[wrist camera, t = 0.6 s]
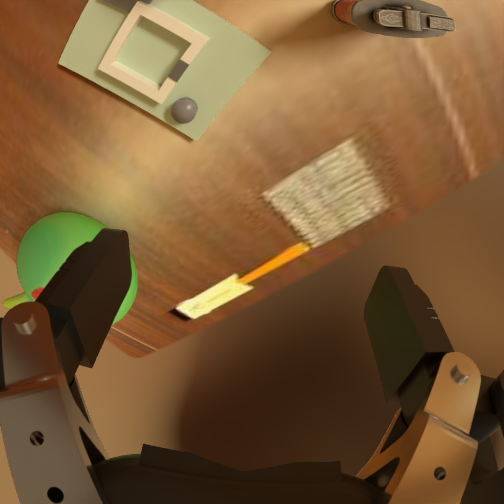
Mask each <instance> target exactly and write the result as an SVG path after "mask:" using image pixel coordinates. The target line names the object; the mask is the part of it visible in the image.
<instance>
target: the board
mask: <svg viewBox="0 0 504 504" xmlns="http://www.w3.org/2000/svg"><path fill="white" fill-rule="evenodd" d="M270 53H271V51H270V50H269V49H268V48H266V47H265V46H264V45H262V44H261V43H259V42H258V41H257V40H255V39H254V38H252V37H251V36H249V35H248V34H247V33H245V32H244V31H242V30H241V29H239V28H238V27H236V26H235V25H233V24H232V23H230V22H228V21H227V20H225V19H224V18H222V17H221V16H219V15H217V14H216V13H214V12H212V11H211V10H209V9H207V8H206V7H204V6H202V5H201V4H199V3H197V2H195V1H194V0H89V2H88V3H87V5H86V7H85V9H84V11H83V12H82V14H81V16H80V18H79V20H78V22H77V24H76V26H75V28H74V30H73V32H72V34H71V36H70V38H69V40H68V42H67V44H66V47H65V49H64V51H63V53H62V56H61V58H60V60H59V63H58V64H60V65H62V66H64V67H66V68H68V69H70V70H72V71H74V72H76V73H78V74H80V75H82V76H84V77H86V78H87V79H89V80H91V81H93V82H95V83H97V84H99V85H101V86H102V87H104V88H106V89H108V90H110V91H112V92H113V93H115V94H117V95H119V96H121V97H122V98H124V99H126V100H128V101H129V102H131V103H133V104H135V105H136V106H138V107H140V108H142V109H143V110H145V111H147V112H149V113H150V114H152V115H154V116H155V117H157V118H159V119H161V120H162V121H164V122H166V123H167V124H169V125H171V126H172V127H174V128H176V129H177V130H179V131H181V132H182V133H184V134H185V135H187V136H189V137H190V138H192V139H194V140H195V141H197V140H198V139H199V138H200V137H201V135H202V134H203V133H204V131H205V130H206V129H207V128H208V126H209V125H210V124H211V122H212V121H213V120H214V119H215V117H216V116H217V115H218V114H219V112H220V111H221V110H222V109H223V108H224V106H225V105H226V104H227V103H228V101H229V100H230V99H231V98H232V97H233V95H234V94H235V93H236V92H237V91H238V90H239V88H240V87H241V86H242V85H243V84H244V83H245V81H246V80H247V79H248V78H249V77H250V76H251V75H252V73H253V72H254V71H255V70H256V69H257V68H258V67H259V66H260V64H261V63H262V62H263V61H264V60H265V59H266V58H267V57H268V56H269V55H270Z"/></svg>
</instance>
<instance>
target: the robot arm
mask: <svg viewBox="0 0 504 504" xmlns="http://www.w3.org/2000/svg"><path fill="white" fill-rule="evenodd" d="M131 280H132V268H131V259H130V249H129V239H128V234H127V232H126V231H125V230H117V229H109V228H103V229H101V230H100V232H99V233H98V234H97V235H96V236H95V238H94V239H93V240H92V241H91V242H88V241H87V242H85V243H84V244H82V245H81V246H79V247H77V248H76V249H74V250H73V252H72V253H71V254H70V255H69V257H68V258H67V259H66V262H64V263H63V264H62V265H61V267H60V268H59V271H57V272H56V273H55V274H54V276H53V277H52V278H51V280H50V281H49V282H48V284H47V285H46V286H45V288H44V289H43V290H42V292H41V293H40V294H39V296H38V297H37V299H36V300H35V301H34V302H33V301H29V302H23V303H20V304H18V305H16V306H14V307H13V308H11V309H10V310H9V311H8V312H7V313H6V315H5V316H4V318H0V425H1V431H2V436H3V441H4V446H5V450H6V455H7V459H8V463H9V467H10V471H11V475H12V478H13V482H14V485H15V488H16V492H17V494H18V498H19V501H20V504H459V503H460V501H461V503H462V504H504V468H503V469H502V470H500V471H498V467H497V463H496V459H495V454H494V451H493V446H492V442H491V438H490V435H492V434H493V433H494V432H495V431H497V430H498V429H499V428H500V427H501V429H502V433H503V436H504V370H503V372H502V373H501V374H500V375H499V376H498V377H497V378H496V379H494V378H490V377H486V376H483V375H480V372H479V370H478V368H477V366H476V365H475V363H474V362H473V361H472V360H471V359H470V358H468V357H467V356H466V355H464V354H461V353H458V352H454V350H453V347H452V345H451V343H450V341H449V339H448V337H447V334H446V332H445V330H444V328H443V326H442V324H441V322H440V320H439V319H438V316H437V314H436V312H435V310H433V306H432V304H431V302H430V300H429V298H428V296H427V295H426V294H425V293H424V292H423V291H422V290H421V289H420V288H419V287H418V286H417V285H415V284H414V282H413V280H412V278H411V276H410V274H409V272H408V271H407V269H405V268H400V267H392V266H383V267H382V268H381V269H380V271H379V273H378V276H377V278H376V280H375V283H374V285H373V287H372V290H371V292H370V294H369V297H368V299H367V301H366V304H365V308H364V319H365V323H366V327H367V330H368V334H369V337H370V341H371V345H372V349H373V352H374V356H375V360H376V363H377V367H378V371H379V375H380V379H381V383H382V387H383V392H384V396H385V400H386V403H387V402H400V404H401V408H400V409H399V410H398V412H397V413H396V415H395V417H394V419H393V421H392V423H391V425H390V427H389V428H388V430H387V432H386V434H385V436H384V437H383V439H382V441H381V443H380V445H379V446H378V448H377V450H376V452H375V453H374V455H373V456H372V458H371V459H370V461H369V462H368V463H367V464H366V465H365V466H364V468H363V469H362V470H361V471H360V472H359V473H358V475H357V476H353V475H350V474H347V473H343V472H341V464H340V461H335V462H293V463H288V464H283V465H278V466H274V467H268V468H262V469H256V470H250V471H240V470H236V469H233V468H230V467H227V466H225V465H222V464H219V463H216V462H213V461H210V460H208V459H205V458H203V457H200V456H197V455H195V454H192V453H187V452H181V451H176V450H171V449H166V448H161V447H156V446H151V445H146V444H143V447H142V451H141V454H131V455H123V456H118V457H114V458H109V456H108V454H107V452H106V450H105V448H104V446H103V444H102V442H101V440H100V438H99V437H98V435H97V433H96V430H95V428H94V426H93V423H92V421H91V419H90V415H89V412H88V410H87V407H86V404H85V401H84V398H83V395H82V393H81V389H80V386H79V383H78V380H77V377H76V375H75V373H76V371H77V368H78V366H79V365H82V366H86V367H89V368H92V367H93V365H94V363H95V361H96V358H97V356H98V354H99V352H100V349H101V347H102V345H103V343H104V340H105V338H106V336H107V334H108V332H109V330H110V328H111V325H112V323H113V321H114V319H115V317H116V315H117V313H118V311H119V309H120V307H121V305H122V303H123V301H124V299H125V297H126V295H127V293H128V291H129V288H130V285H131Z"/></svg>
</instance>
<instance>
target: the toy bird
mask: <svg viewBox="0 0 504 504" xmlns="http://www.w3.org/2000/svg"><path fill="white" fill-rule="evenodd" d="M103 228H107V227H106V226H105V225H103V224H102V223H100V222H98V221H96V220H94V219H92V218H90V217H87V216H85V215H82V214H78V213H73V212H57V213H52V214H49V215H47V216H44V217H42V218H41V219H39V220H38V221H36V222H35V223H34V224H33V225H32V226H31V227H30V228H29V229H28V230H27V232H26V233H25V235H24V236H23V238H22V240H21V243H20V245H19V249H18V253H17V273H18V277H19V280H20V283H21V286H22V288H23V289H24V291H25V292H23V293H22V294H19V295H16V296H13V297H11V298H8V299H6V300H5V301H3V302H2V304H3V306H5V307H6V308H9V309H11V308H13V307H14V306H16V305H18V304H20V303H23V302H29V301H33V302H34V301H35V300H36V299H37V297H38V296H39V294H40V293H41V292H42V290H43V289H44V288H45V286H46V285H47V284H48V282H49V281H50V280H51V278H52V277H53V276H54V274H55V273H56V272H57V271H59V268H60V267H61V265H62V264H63V263H64V262H66V259H67V258H68V257H69V255H70V254H71V253H72V252H73V250H74V249H76V248H77V247H79V246H81V245H82V244H84V243H85V242H87V241H88V242H91V241H92V240H93V239H94V238H95V236H96V235H97V234H98V233H99V232H100V230H101V229H103ZM130 259H131V268H132V280H131V285H130V288H129V291H128V293H127V295H126V297H125V299H124V301H123V303H122V305H121V307H120V309H119V311H118V313H117V315H116V317H115V319H114V321H113V323H112V325H113V324H115V323H116V322H118V321H119V320H120V319H121V318H122V317H123V316H124V315H125V314H126V313H127V312H128V310H129V309H130V307H131V306H132V304H133V302H134V299H135V296H136V293H137V286H138V276H137V270H136V266H135V263H134V260H133V258H132V256H131V254H130Z"/></svg>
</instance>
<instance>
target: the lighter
mask: <svg viewBox="0 0 504 504" xmlns="http://www.w3.org/2000/svg"><path fill="white" fill-rule="evenodd" d="M331 13H332V16H333V17H334V18H335V19H336V20H337V21H338V22H341V23H344V24H350V25H355V26H357V27H358V28H359V29H361V30H364V31H366V32H371V33H376V34H381V35H386V36H395V37H403V38H427V37H437V36H442V35H444V34H445V33H446V32H454V31H455V30H456V23H455V20H454V19H453V18H451V17H447V14H446V13H445V11H444V10H443V9H442V8H440V7H438V6H435V5H432V4H430V3H427V2H424V1H420V0H335V1H334V2H333V3H332V5H331Z"/></svg>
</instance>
